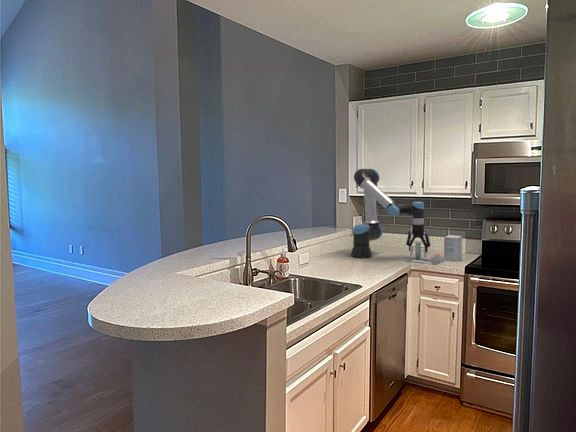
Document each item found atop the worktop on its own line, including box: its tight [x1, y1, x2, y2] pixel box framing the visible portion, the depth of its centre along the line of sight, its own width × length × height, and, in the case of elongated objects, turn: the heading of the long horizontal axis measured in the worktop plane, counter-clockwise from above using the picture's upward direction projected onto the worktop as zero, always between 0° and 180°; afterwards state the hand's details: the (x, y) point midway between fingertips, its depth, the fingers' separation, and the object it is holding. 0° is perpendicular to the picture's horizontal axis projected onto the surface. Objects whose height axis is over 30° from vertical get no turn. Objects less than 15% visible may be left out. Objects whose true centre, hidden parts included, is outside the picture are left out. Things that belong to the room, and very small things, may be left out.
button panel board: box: [404, 255, 446, 266], centre depth 283 cm, size 22×16×4 cm
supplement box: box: [443, 234, 463, 262], centre depth 286 cm, size 10×9×17 cm
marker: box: [414, 241, 422, 259], centre depth 291 cm, size 4×4×12 cm
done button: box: [433, 252, 441, 257], centre depth 282 cm, size 4×4×4 cm
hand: (418, 256), depth 292 cm, fingers open, 9 cm apart
